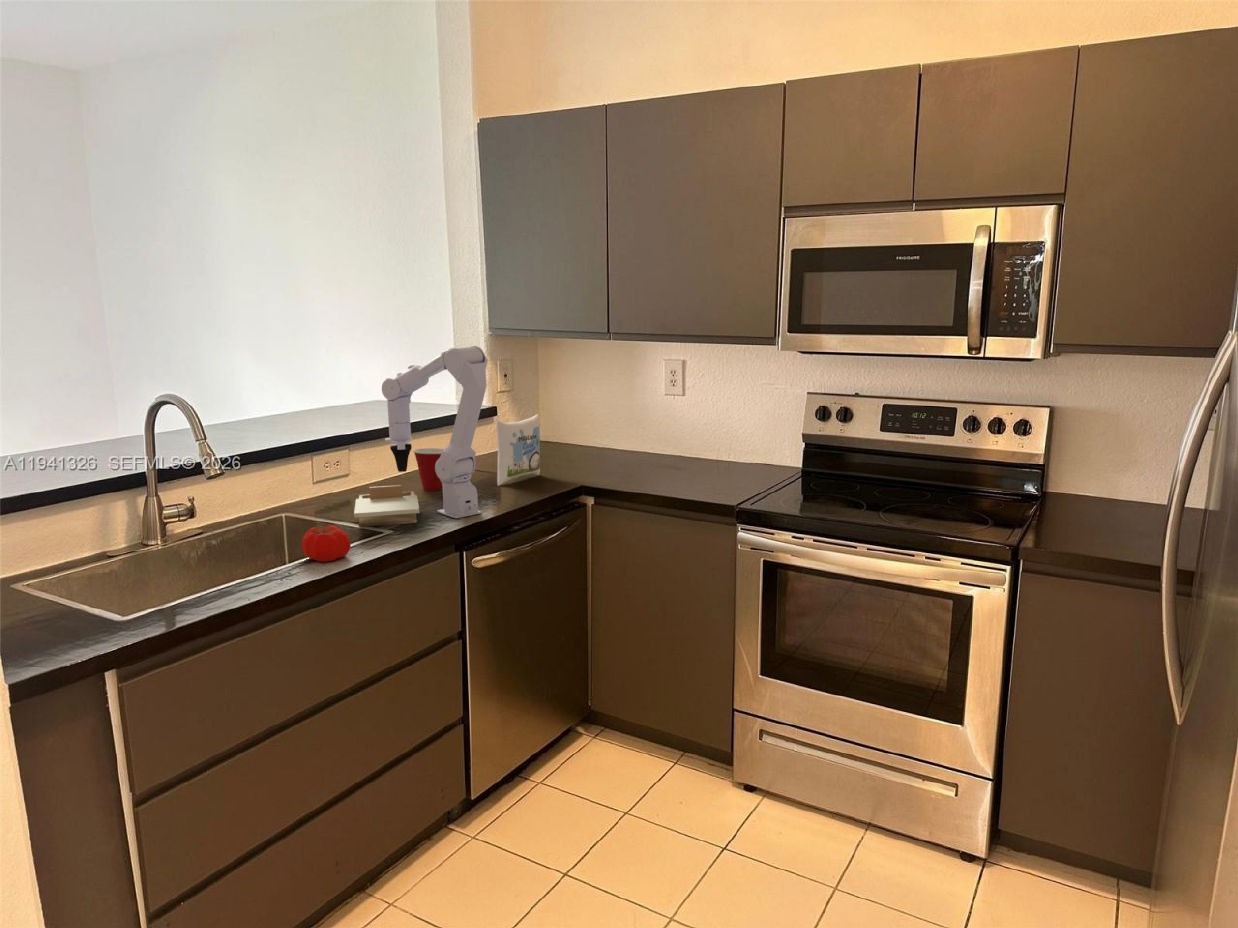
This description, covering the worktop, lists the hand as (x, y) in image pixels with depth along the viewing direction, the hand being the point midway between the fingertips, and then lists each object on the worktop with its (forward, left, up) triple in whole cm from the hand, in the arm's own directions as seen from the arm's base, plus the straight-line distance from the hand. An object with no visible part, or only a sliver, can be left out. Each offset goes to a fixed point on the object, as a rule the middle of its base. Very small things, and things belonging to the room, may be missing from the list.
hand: (402, 471), depth 236 cm
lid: (-20, +15, -4) cm, 25 cm away
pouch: (+3, -41, -10) cm, 42 cm away
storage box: (-10, +10, -9) cm, 17 cm away
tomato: (-32, +36, -10) cm, 49 cm away
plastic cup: (+12, -16, -10) cm, 22 cm away
